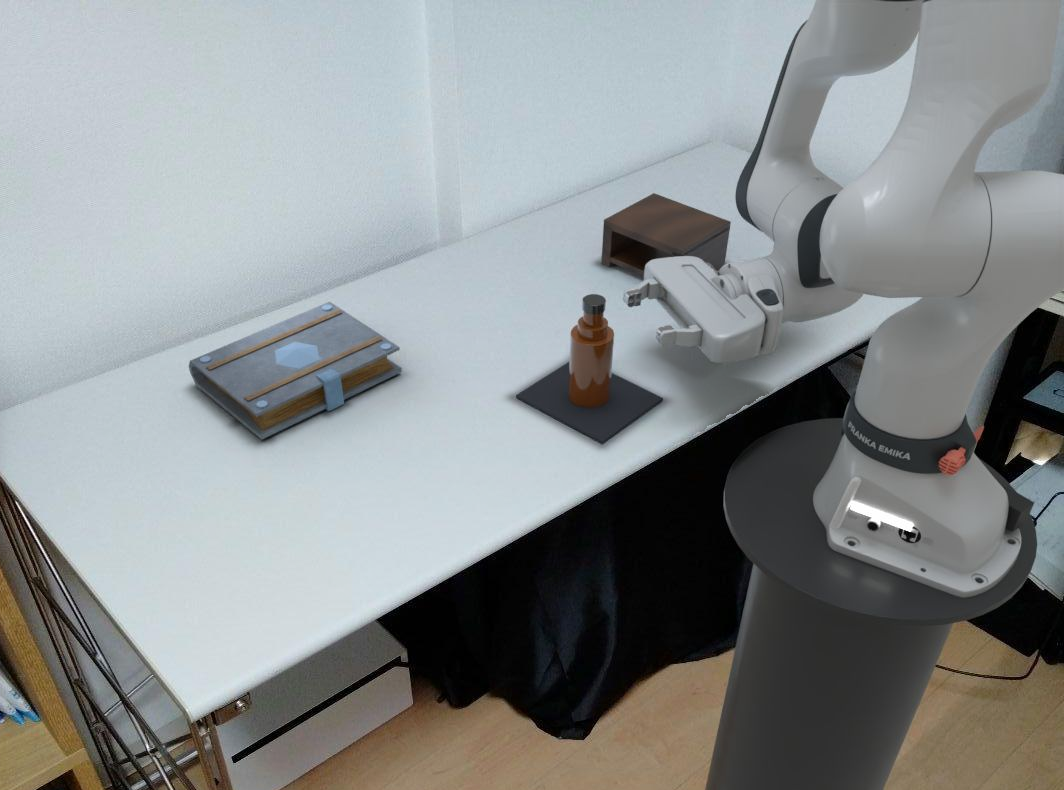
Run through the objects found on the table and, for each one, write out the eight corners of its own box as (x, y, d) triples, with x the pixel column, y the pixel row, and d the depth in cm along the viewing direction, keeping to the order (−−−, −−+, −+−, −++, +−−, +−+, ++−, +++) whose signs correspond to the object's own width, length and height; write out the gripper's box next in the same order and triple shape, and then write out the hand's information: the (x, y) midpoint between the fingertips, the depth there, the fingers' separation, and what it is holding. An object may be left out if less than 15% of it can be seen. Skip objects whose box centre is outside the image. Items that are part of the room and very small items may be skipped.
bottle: (618, 394, 130) (625, 299, 121) (591, 412, 127) (597, 316, 118) (586, 378, 132) (591, 283, 123) (559, 396, 130) (562, 300, 120)
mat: (662, 400, 130) (663, 398, 129) (602, 444, 123) (602, 441, 123) (577, 358, 136) (577, 356, 136) (515, 397, 130) (515, 395, 130)
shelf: (724, 265, 155) (731, 221, 150) (676, 295, 148) (682, 250, 143) (649, 235, 162) (653, 192, 157) (601, 263, 155) (603, 219, 150)
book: (329, 325, 142) (325, 293, 139) (403, 375, 133) (400, 342, 130) (193, 385, 132) (184, 351, 128) (264, 444, 123) (256, 409, 120)
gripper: (707, 236, 133) (608, 254, 130) (790, 314, 119) (681, 337, 115) (701, 281, 137) (605, 299, 134) (780, 361, 123) (676, 384, 120)
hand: (641, 317), depth 125 cm, fingers open, 8 cm apart
